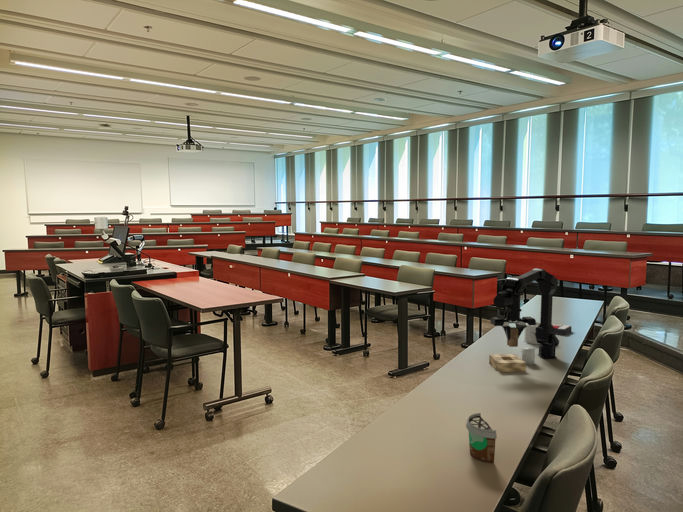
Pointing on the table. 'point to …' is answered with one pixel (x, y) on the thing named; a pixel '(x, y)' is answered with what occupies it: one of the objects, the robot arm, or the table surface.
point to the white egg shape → (528, 355)
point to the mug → (531, 333)
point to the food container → (481, 439)
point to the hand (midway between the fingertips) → (512, 340)
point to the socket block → (507, 363)
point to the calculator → (562, 329)
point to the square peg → (513, 337)
